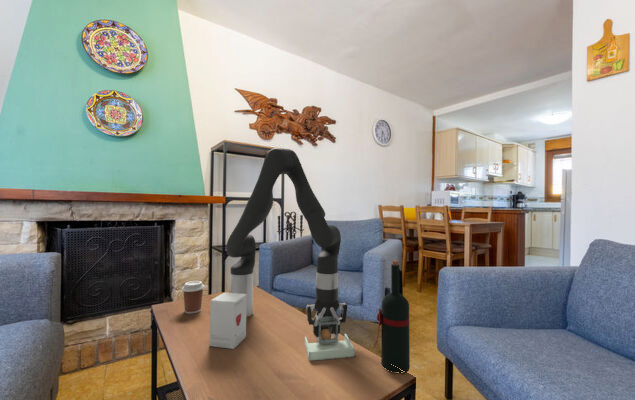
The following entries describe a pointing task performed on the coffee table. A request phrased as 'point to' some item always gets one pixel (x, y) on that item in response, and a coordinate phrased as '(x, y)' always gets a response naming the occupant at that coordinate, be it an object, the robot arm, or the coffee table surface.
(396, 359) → the wine bottle
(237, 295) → the supplement box
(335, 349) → the tray
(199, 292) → the coffee cup
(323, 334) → the ball
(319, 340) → the grey hollow box
